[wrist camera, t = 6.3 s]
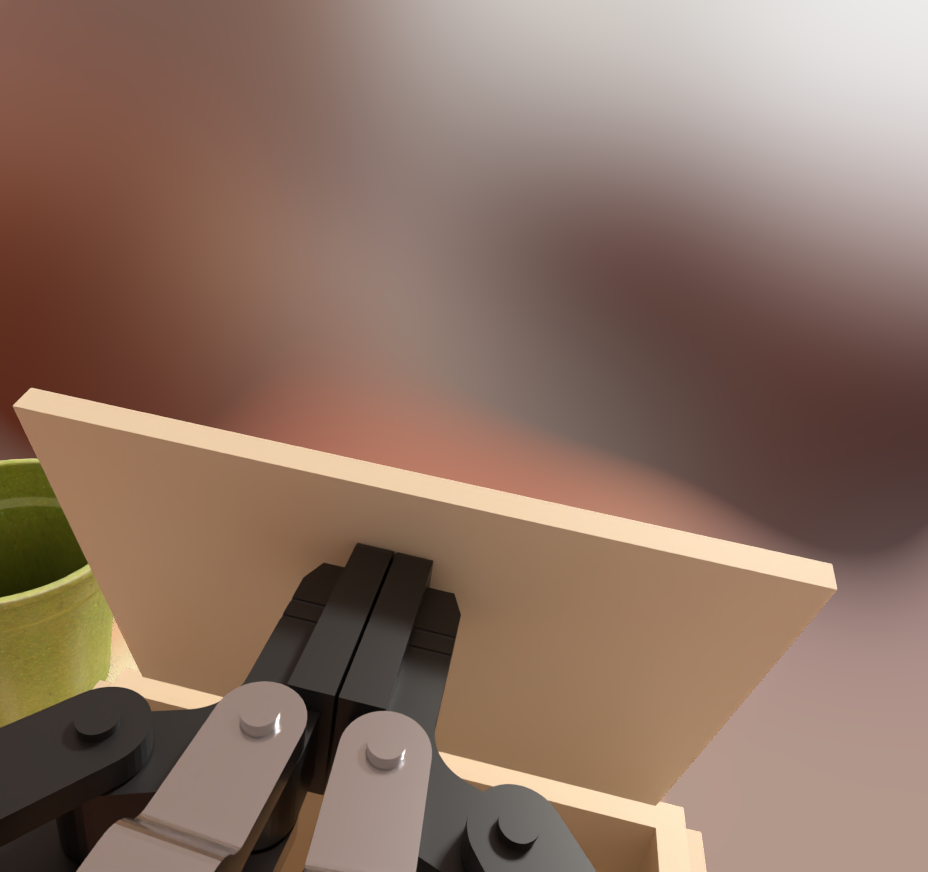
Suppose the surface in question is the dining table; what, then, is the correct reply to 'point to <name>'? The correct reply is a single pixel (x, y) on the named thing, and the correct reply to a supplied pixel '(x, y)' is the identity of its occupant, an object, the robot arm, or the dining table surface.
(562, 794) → the carton
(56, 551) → the plant pot
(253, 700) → the robot arm
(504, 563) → the back flap
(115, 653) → the dining table surface
